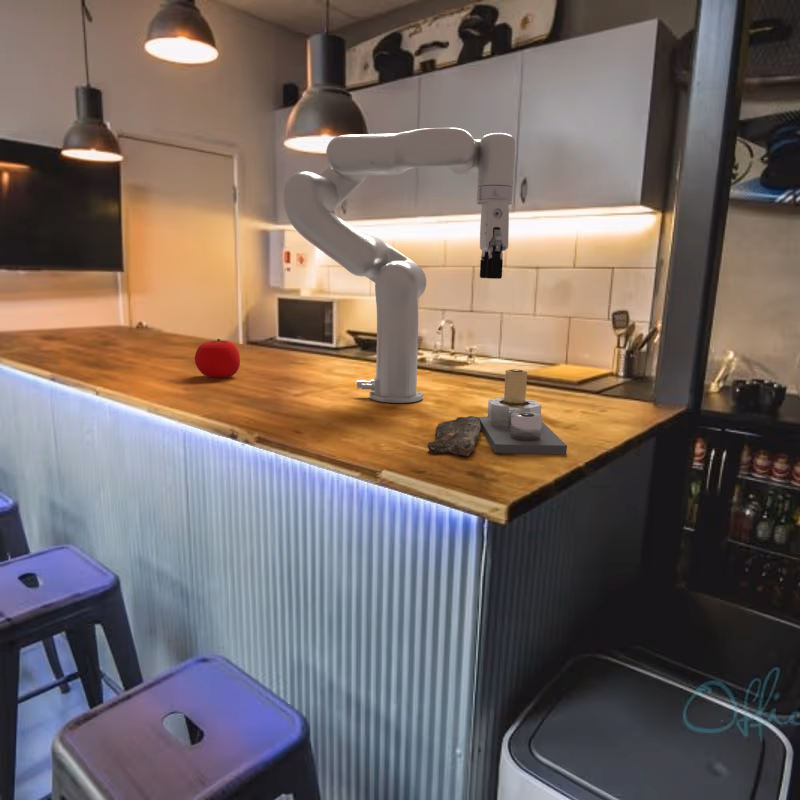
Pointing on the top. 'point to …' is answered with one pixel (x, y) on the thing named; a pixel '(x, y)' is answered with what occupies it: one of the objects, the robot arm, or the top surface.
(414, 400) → the robot arm
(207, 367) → the tomato
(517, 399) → the brass nipple
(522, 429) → the sockets
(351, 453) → the top surface
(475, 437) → the rock
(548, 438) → the fitting board
